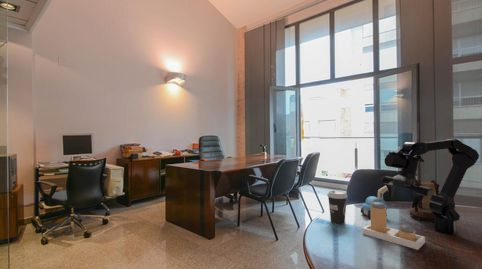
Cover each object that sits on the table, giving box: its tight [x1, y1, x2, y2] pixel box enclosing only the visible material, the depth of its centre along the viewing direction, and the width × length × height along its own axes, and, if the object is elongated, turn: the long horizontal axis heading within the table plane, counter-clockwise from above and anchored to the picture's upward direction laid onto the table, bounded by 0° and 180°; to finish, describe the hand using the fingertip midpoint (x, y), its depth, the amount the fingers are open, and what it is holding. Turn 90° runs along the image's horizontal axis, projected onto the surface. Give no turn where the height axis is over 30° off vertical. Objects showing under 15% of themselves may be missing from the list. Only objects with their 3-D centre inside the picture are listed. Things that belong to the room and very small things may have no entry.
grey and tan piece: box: [397, 224, 417, 242], centre depth 97 cm, size 5×5×6 cm
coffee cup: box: [326, 190, 348, 225], centre depth 124 cm, size 10×10×15 cm
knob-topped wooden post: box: [370, 202, 388, 233], centre depth 105 cm, size 5×5×13 cm
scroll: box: [409, 179, 440, 222], centre depth 127 cm, size 15×15×20 cm
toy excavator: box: [360, 185, 388, 219], centre depth 131 cm, size 9×17×17 cm, turn 94°
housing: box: [362, 223, 426, 251], centre depth 101 cm, size 20×9×4 cm, turn 40°
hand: (401, 203), depth 110 cm, fingers open, 9 cm apart
